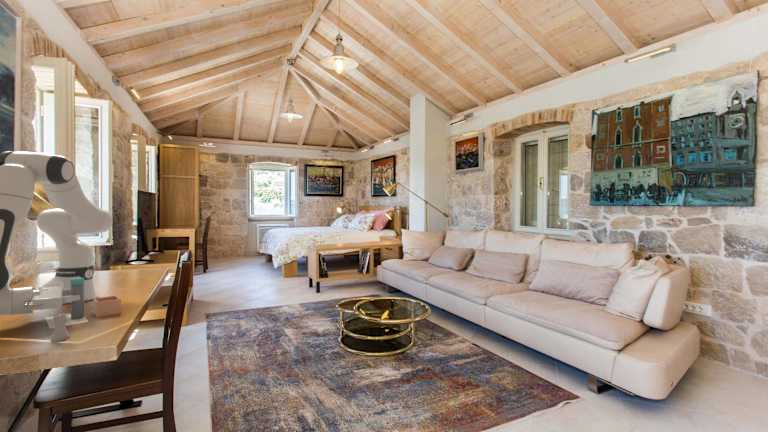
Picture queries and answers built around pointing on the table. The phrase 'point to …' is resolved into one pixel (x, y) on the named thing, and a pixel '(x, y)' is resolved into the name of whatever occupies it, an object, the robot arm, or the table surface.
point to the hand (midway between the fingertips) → (79, 294)
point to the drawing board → (68, 321)
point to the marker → (78, 305)
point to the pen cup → (106, 306)
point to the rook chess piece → (59, 328)
